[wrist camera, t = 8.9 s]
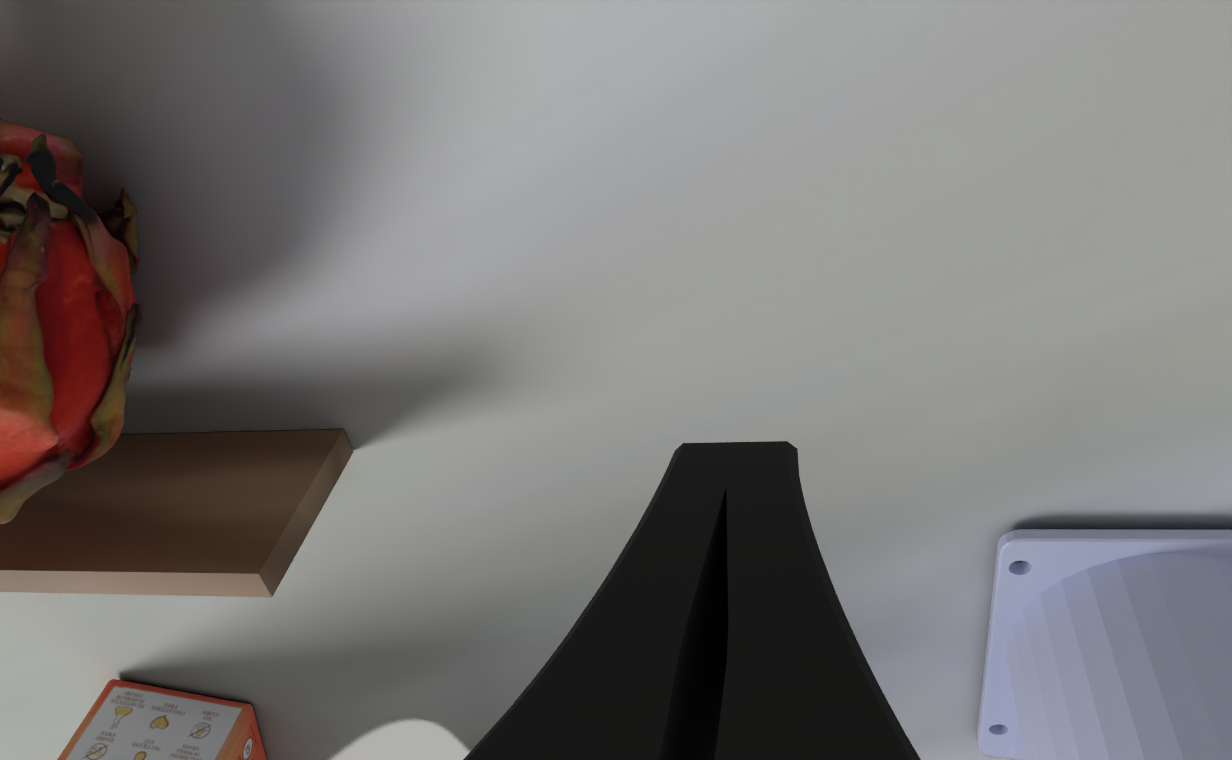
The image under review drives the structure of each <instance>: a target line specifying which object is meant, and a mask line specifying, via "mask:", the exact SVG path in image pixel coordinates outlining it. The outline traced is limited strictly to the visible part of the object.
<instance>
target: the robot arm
mask: <svg viewBox="0 0 1232 760" xmlns="http://www.w3.org/2000/svg"><path fill="white" fill-rule="evenodd" d="M1015 561H1023V562H1020V563H1013V562H1015ZM977 744H978V749H979V751H980V752H981V753H983V754H984V755H987V756H990V757H998V758H1015V760H1232V530H1103V529H1020V530H1013V531H1010V532H1008V533H1005V534H1004V535H1003V536H1002V537H1001V538H1000V540H999V542H998V547H997V556H996V565H995V574H994V583H993V592H992V602H991V611H990V620H989V629H988V638H987V647H986V656H985V665H984V674H983V683H982V692H981V702H980V711H979V720H978V729H977ZM464 760H920V758H919V756H918V754H917V753H916V751H915V749H914V748H913V746H912V744H911V743H910V741H909V739H908V737H907V736H906V734H905V732H904V731H903V729H902V727H901V725H900V723H899V721H898V720H897V718H896V716H895V714H894V712H893V711H892V709H891V707H890V705H889V703H888V701H887V700H886V698H885V696H884V694H883V692H882V690H881V688H880V686H879V684H878V683H877V681H876V679H875V677H874V675H873V673H872V671H871V669H870V667H869V665H868V663H867V661H866V659H865V657H864V655H863V653H862V650H861V648H860V646H859V644H858V642H857V640H856V637H855V635H854V633H853V631H852V629H851V627H850V625H849V622H848V620H847V618H846V616H845V613H844V611H843V609H842V606H841V604H840V602H839V599H838V597H837V595H836V592H835V590H834V587H833V584H832V582H831V579H830V577H829V574H828V571H827V569H826V566H825V564H824V561H823V558H822V556H821V553H820V550H819V548H818V545H817V542H816V539H815V536H814V533H813V530H812V526H811V523H810V519H809V516H808V512H807V509H806V505H805V502H804V497H803V493H802V489H801V483H800V478H799V467H798V452H797V448H795V447H794V446H793V445H791V444H790V443H789V442H787V441H779V442H726V443H683V444H682V445H681V446H680V447H679V448H678V449H676V450H675V452H674V454H673V457H672V459H671V461H670V464H669V466H668V468H667V470H666V472H665V474H664V476H663V478H662V480H661V482H660V484H659V486H658V488H657V490H656V492H655V494H654V496H653V498H652V500H651V502H650V504H649V506H648V507H647V509H646V511H645V513H644V515H643V517H642V518H641V520H640V522H639V524H638V526H637V527H636V529H635V531H634V533H633V534H632V536H631V538H630V539H629V541H628V543H627V544H626V546H625V548H624V549H623V551H622V553H621V554H620V556H619V557H618V559H617V561H616V562H615V564H614V566H613V567H612V569H611V571H610V572H609V574H608V576H607V577H606V579H605V580H604V582H603V583H602V585H601V586H600V588H599V589H598V591H597V592H596V594H595V595H594V597H593V598H592V600H591V601H590V603H589V604H588V605H587V607H586V608H585V610H584V611H583V613H582V614H581V616H580V617H579V618H578V620H577V621H576V623H575V624H574V626H573V627H572V629H571V630H570V632H569V633H568V634H567V636H566V637H565V639H564V640H563V641H562V643H561V644H560V645H559V647H558V648H557V649H556V651H555V652H554V653H553V655H552V656H551V657H550V659H549V660H548V661H547V663H546V664H545V665H544V666H543V668H542V669H541V670H540V672H539V673H538V674H537V675H536V677H535V678H534V679H533V680H532V682H531V683H530V684H529V685H528V686H527V688H526V689H525V690H524V691H523V693H522V694H521V695H520V696H519V697H518V699H517V700H516V701H515V702H514V704H513V705H512V706H511V707H510V708H509V709H508V711H507V712H506V713H505V714H504V715H503V716H502V717H501V718H500V720H499V721H498V722H497V723H496V724H495V725H494V726H493V727H492V729H491V730H490V731H489V732H488V733H487V734H486V735H485V736H484V737H483V739H482V740H481V741H480V742H479V743H478V744H477V745H476V746H475V747H474V749H473V750H472V751H471V752H470V753H469V754H468V755H467V756H466V758H464Z"/></svg>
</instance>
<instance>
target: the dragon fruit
mask: <svg viewBox="0 0 1232 760" xmlns="http://www.w3.org/2000/svg"><path fill="white" fill-rule="evenodd" d="M82 163H83V157H82V155H81V154H80V152H79V150H78V147H77V145H76V143H75V142H74V141H73V140H69V139H65V138H62V137H59V136H56V135H52V134H49V133H46V132H45V131H44V132H43V131H40V129H39V130H35V129H32V128H28V127H24V126H21V125H17V124H14V123H11V122H8V121H5V120H2V119H0V524H5V523H7V522H9V521H11V520H12V519H13V518H14V517H15V516H16V514H17V513H18V511H19V509H20V507H21V506H22V504H23V503H24V501H25V500H26V499H28V498H29V497H30V496H32V495H33V494H34V493H35V492H37V491H38V490H39V489H41V488H42V487H44V486H46V485H48V484H50V483H52V482H54V481H56V480H57V479H59V478H60V477H61V476H62V475H63V474H64V473H65V471H69V470H74V469H78V468H80V467H82V466H84V465H86V464H87V463H89V462H91V461H93V460H95V459H97V458H99V457H101V456H102V455H104V454H105V453H106V452H107V451H108V450H109V449H110V448H111V447H112V446H113V445H114V444H115V442H116V440H117V439H118V437H119V436H120V433H121V431H122V428H123V426H124V423H125V417H124V405H125V402H126V383H127V380H128V379H129V376H130V371H131V369H132V368H131V366H130V364H131V361H132V357H133V354H134V349H135V344H136V338H137V335H138V331H139V327H140V324H141V321H142V313H141V306H140V305H139V304H137V303H136V302H135V297H134V293H133V289H132V284H131V278H130V276H131V274H132V273H135V272H136V271H137V269H138V267H139V261H140V260H139V256H138V252H137V241H138V235H137V228H136V223H135V216H136V213H137V209H136V207H135V206H134V205H133V204H132V203H131V201H130V199H129V196H128V194H127V192H126V190H125V188H124V187H122V190H121V196H120V199H119V200H117V201H115V203H114V207H113V208H112V209H111V210H110V211H106V212H97V211H94V210H93V209H92V208H91V207H89V206H88V204H87V203H85V202H84V201H83V200H82V184H81V177H80V176H81V173H82V172H81V170H82Z"/></svg>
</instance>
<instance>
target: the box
mask: <svg viewBox="0 0 1232 760" xmlns="http://www.w3.org/2000/svg"><path fill="white" fill-rule="evenodd" d="M352 453H353V450H352V448H351V445H350V443H349V441H348V438H347V436H346V434H345V431H344V429H339V430H298V431H256V432H215V433H173V434H132V435H120V436H119V437H118V439H117V440H116V442H115V444H114V445H113V446H112V447H111V448H110V449H109V450H108V451H107V452H106V453H105V454H104V455H102V456H101V457H99V458H97V459H95V460H93V461H91V462H89V463H87V464H86V465H84V466H82V467H80V468H78V469H74V470H69V471H65V473H64V474H63V475H62V476H61V477H60V478H59V479H57V480H56V481H54V482H52V483H50V484H48V485H46V486H44V487H42V488H41V489H39V490H38V491H37V492H35V493H34V494H33V495H32V496H30V497H29V498H28V499H26V500H25V501H24V503H23V504H22V506H21V507H20V509H19V511H18V513H17V514H16V516H15V517H14V518H13V519H12V520H11V521H9V522H7V523H5V524H0V592H36V593H86V594H136V595H186V596H236V597H272V596H273V595H274V593H275V591H276V589H277V587H278V586H279V584H280V582H281V580H282V578H283V577H284V575H285V573H286V571H287V570H288V568H289V566H290V564H291V562H292V561H293V559H294V557H295V555H296V553H297V552H298V550H299V548H300V546H301V545H302V543H303V541H304V539H305V537H306V536H307V534H308V532H309V530H310V528H311V527H312V525H313V523H314V521H315V520H316V518H317V516H318V514H319V512H320V511H321V509H322V507H323V505H324V503H325V502H326V500H327V498H328V496H329V495H330V493H331V491H332V489H333V487H334V486H335V484H336V482H337V480H338V478H339V477H340V475H341V473H342V471H343V470H344V468H345V466H346V464H347V462H348V461H349V459H350V457H351V455H352Z"/></svg>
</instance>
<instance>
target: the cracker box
mask: <svg viewBox="0 0 1232 760" xmlns="http://www.w3.org/2000/svg"><path fill="white" fill-rule="evenodd" d="M58 760H267V759H266V755H265V751H264V747H263V744H262V741H261V736H260V733H259V729H258V725H257V721H256V717H255V714H254V710H253V707H252V705H251V704H246V703H241V702H235V701H230V700H224V699H218V698H213V697H208V696H203V695H197V694H192V693H187V692H181V691H176V690H170V689H164V688H159V687H155V686H149V685H144V684H139V683H133V682H128V681H122V680H115V679H112V680H110V681H109V682H108V683H107V685H106V686H105V688H104V690H103V691H102V693H101V694H100V696H99V697H98V699H97V700H96V702H95V703H94V705H93V706H92V708H91V709H90V711H89V712H88V714H87V715H86V717H85V718H84V720H83V721H82V723H81V724H80V726H79V727H78V729H77V730H76V732H75V733H74V735H73V736H72V738H71V740H70V741H69V743H68V744H67V746H66V747H65V749H64V750H63V752H62V753H61V755H60V756H59V758H58Z"/></svg>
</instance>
